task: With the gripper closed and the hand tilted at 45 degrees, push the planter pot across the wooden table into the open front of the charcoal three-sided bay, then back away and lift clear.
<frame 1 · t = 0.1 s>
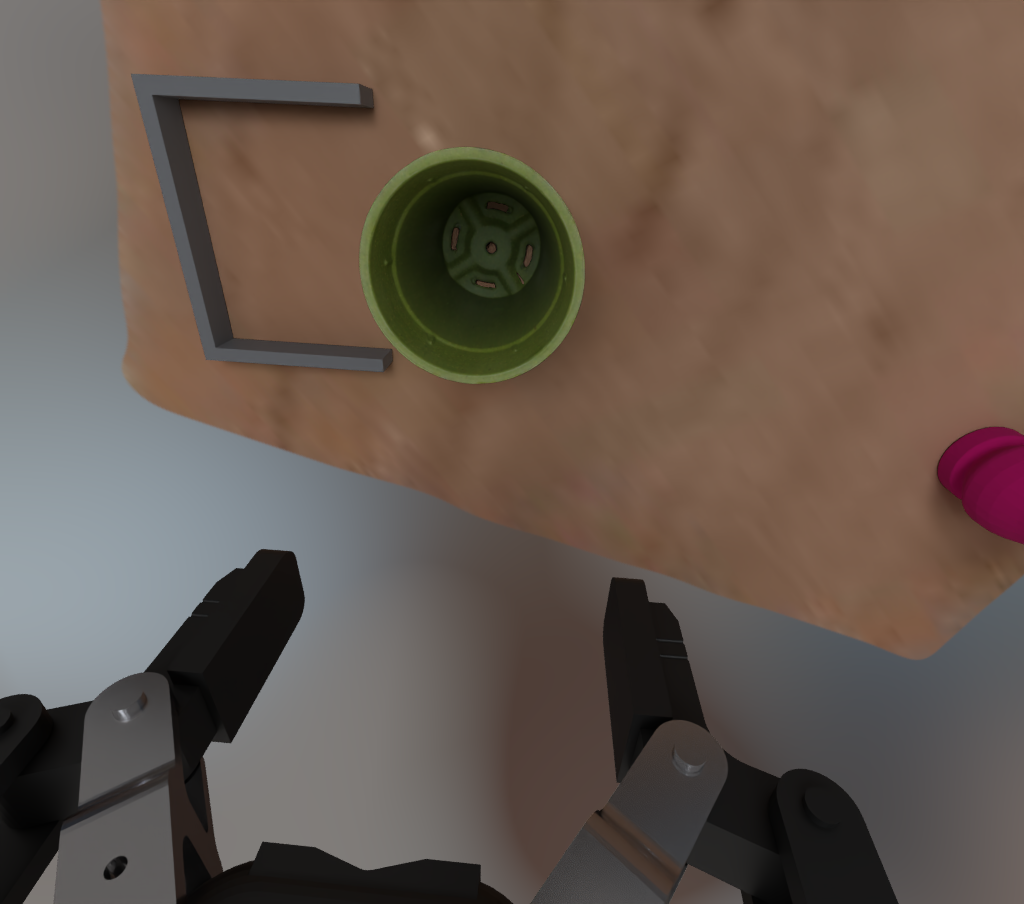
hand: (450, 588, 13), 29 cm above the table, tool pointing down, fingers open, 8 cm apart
bay: (288, 236, 37), on the table
plant pot: (494, 247, 37), on the table
pepper mill: (978, 459, 42), on the table
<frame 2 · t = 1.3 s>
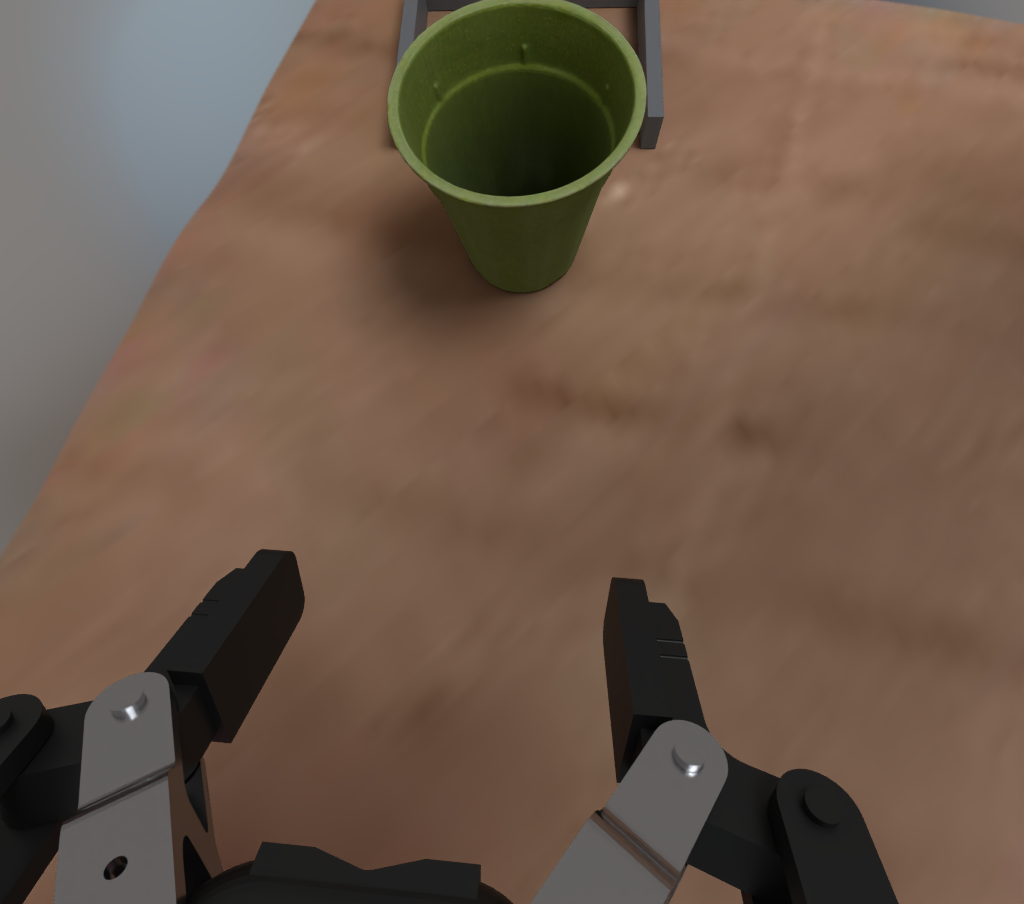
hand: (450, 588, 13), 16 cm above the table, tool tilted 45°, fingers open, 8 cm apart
bay: (528, 70, 38), on the table
plant pot: (521, 250, 34), on the table
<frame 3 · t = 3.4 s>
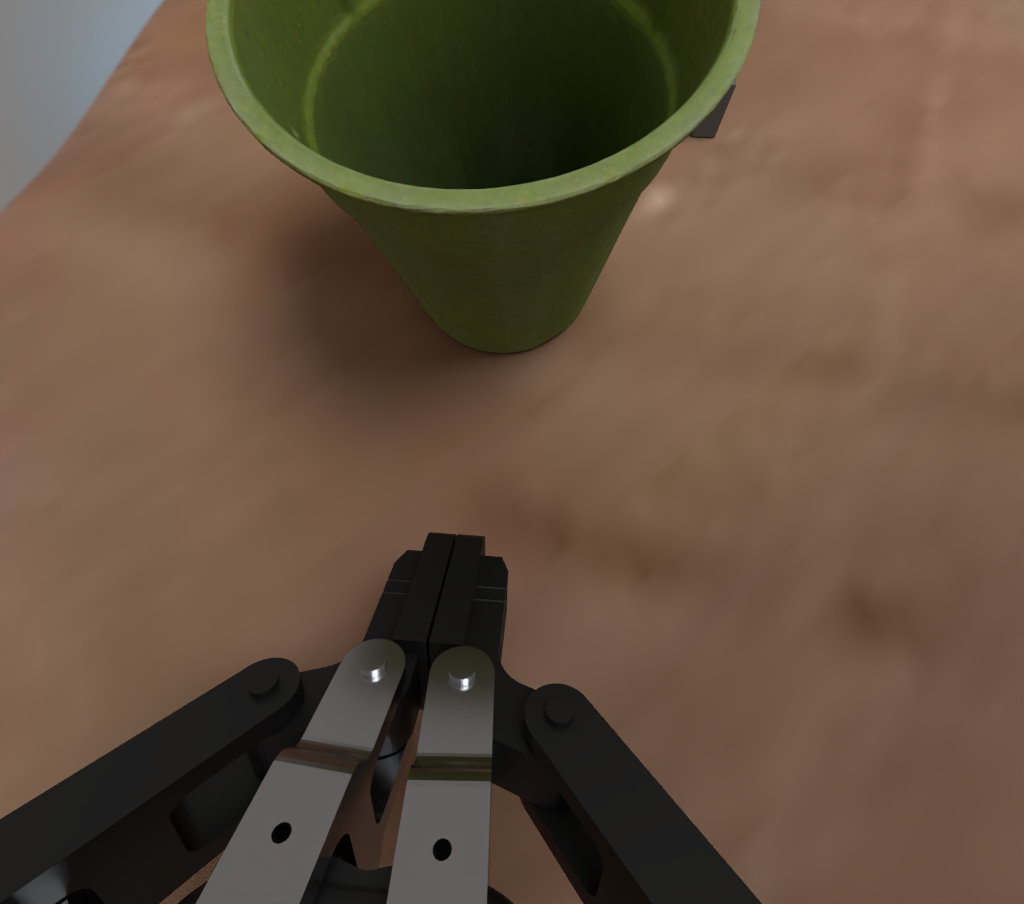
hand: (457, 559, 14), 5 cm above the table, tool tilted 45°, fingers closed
bay: (528, 18, 26), on the table
plant pot: (502, 284, 22), on the table
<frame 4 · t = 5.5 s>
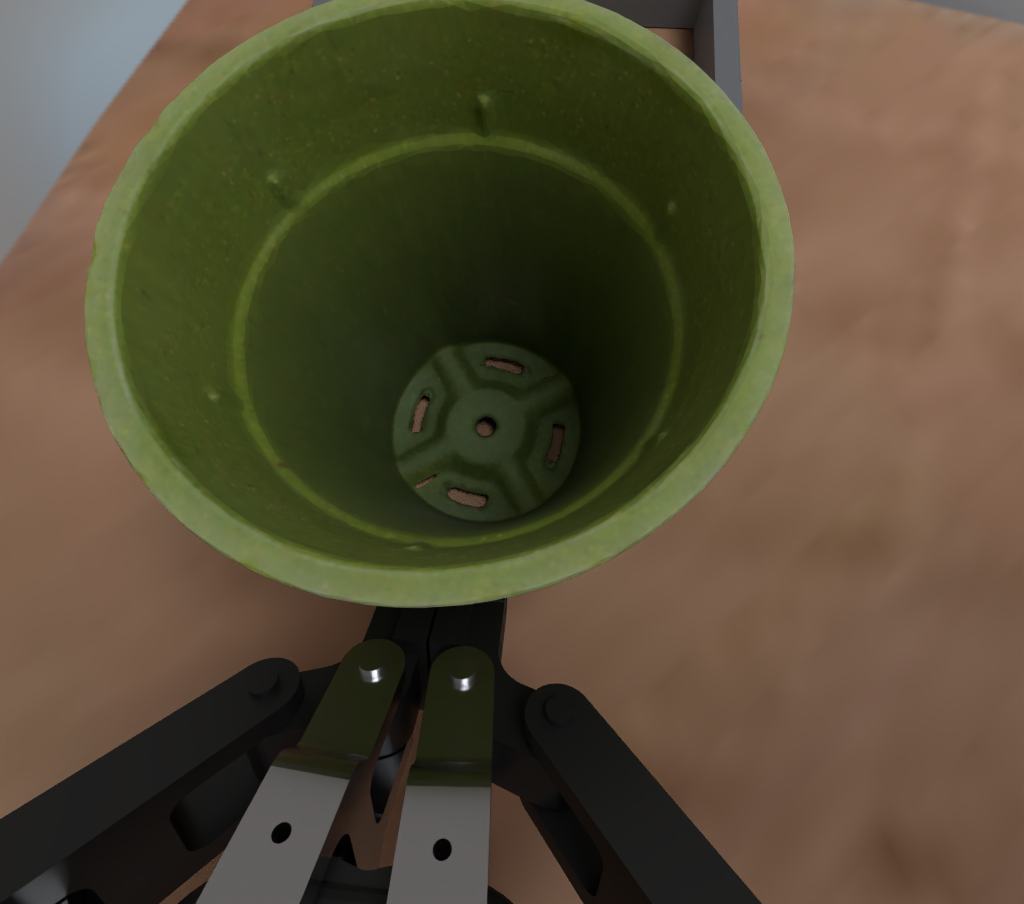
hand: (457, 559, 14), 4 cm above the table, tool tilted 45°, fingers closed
bay: (516, 121, 23), on the table
plant pot: (485, 436, 20), on the table, touching gripper
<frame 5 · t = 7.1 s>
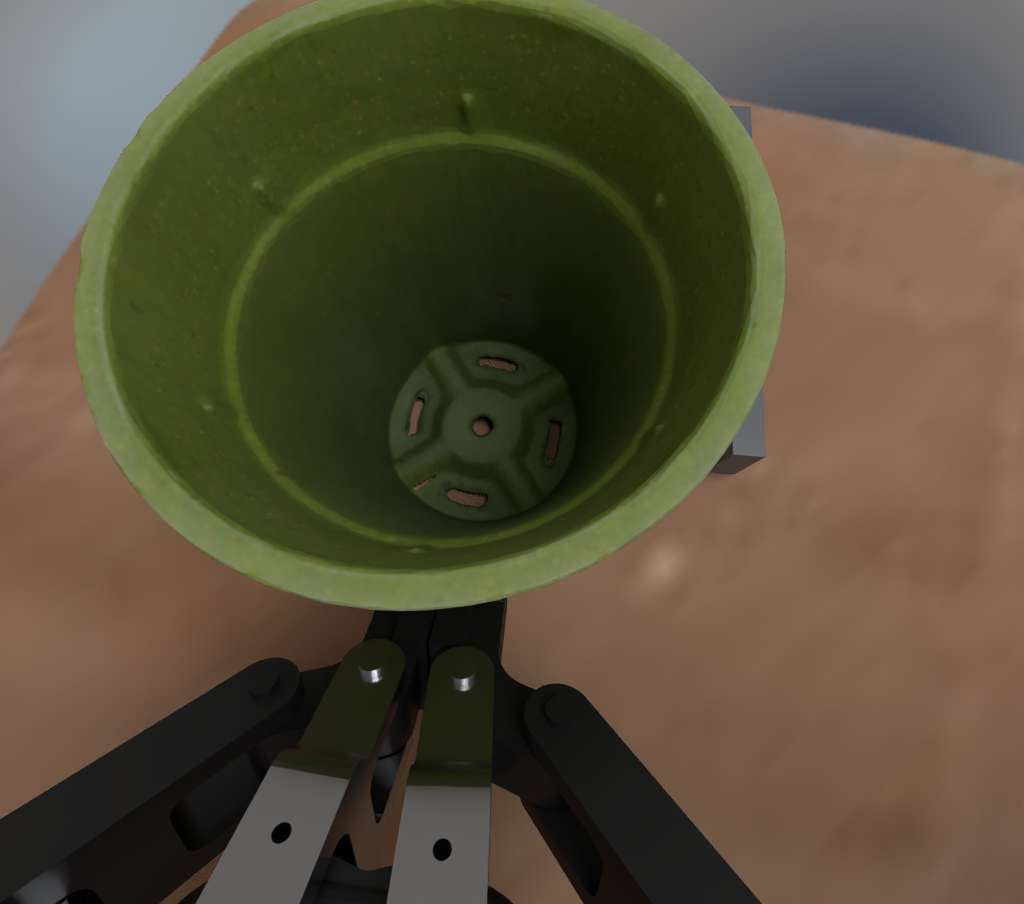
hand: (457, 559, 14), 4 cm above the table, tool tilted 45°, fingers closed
bay: (505, 289, 21), on the table
plant pot: (482, 436, 20), on the table, touching gripper
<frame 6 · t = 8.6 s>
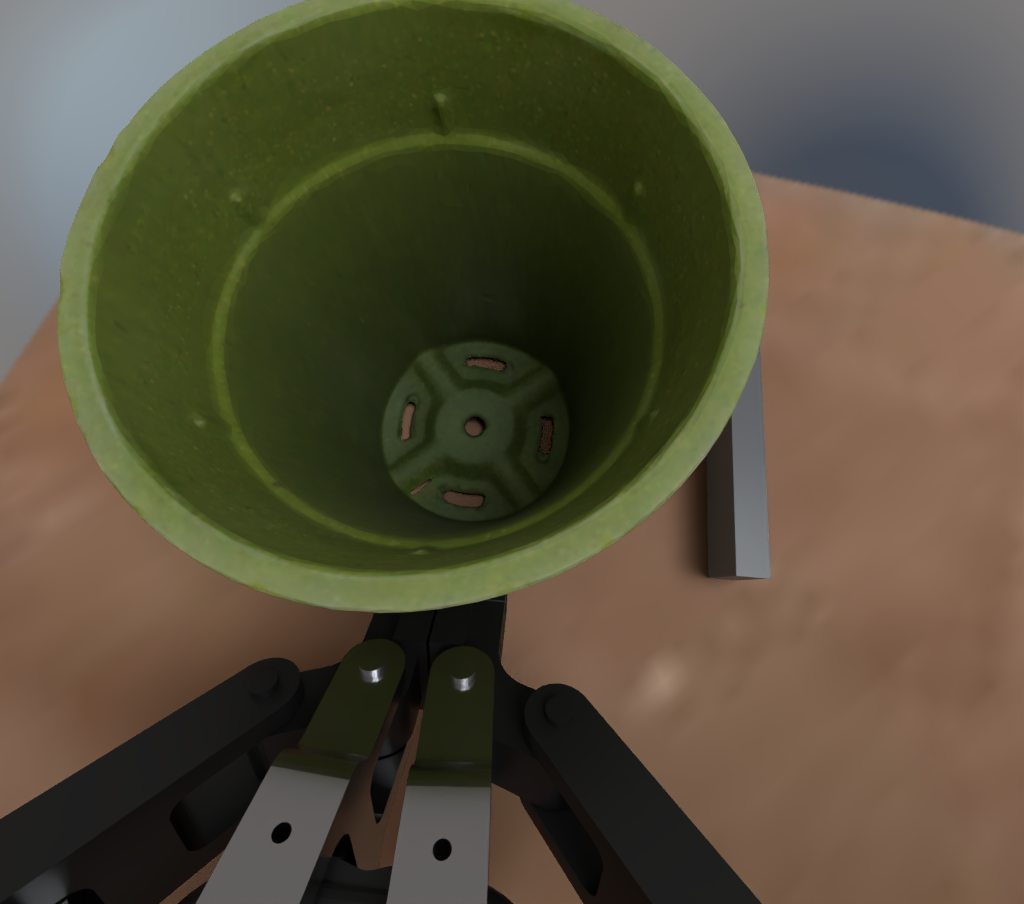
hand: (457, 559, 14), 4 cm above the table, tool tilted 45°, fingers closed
bay: (495, 375, 20), on the table
plant pot: (475, 436, 19), on the table, touching gripper
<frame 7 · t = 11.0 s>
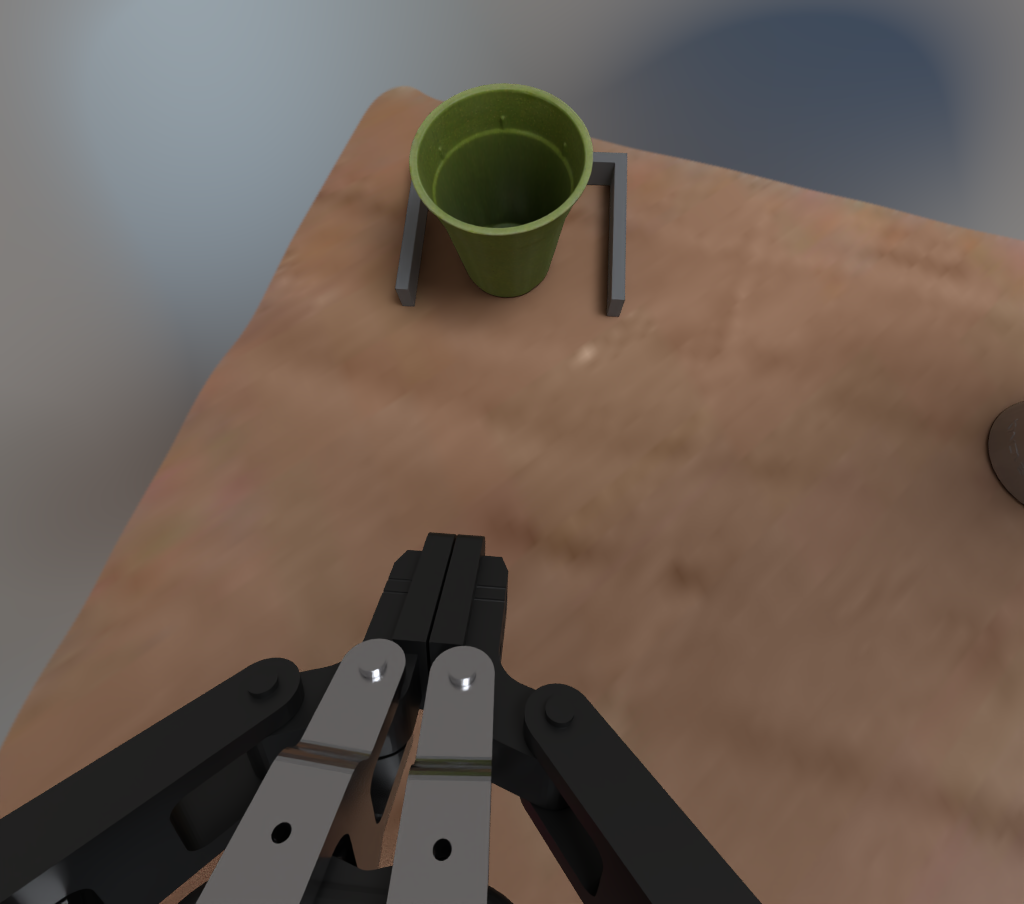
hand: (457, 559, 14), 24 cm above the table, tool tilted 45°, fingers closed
bay: (515, 239, 44), on the table
plant pot: (507, 264, 44), on the table
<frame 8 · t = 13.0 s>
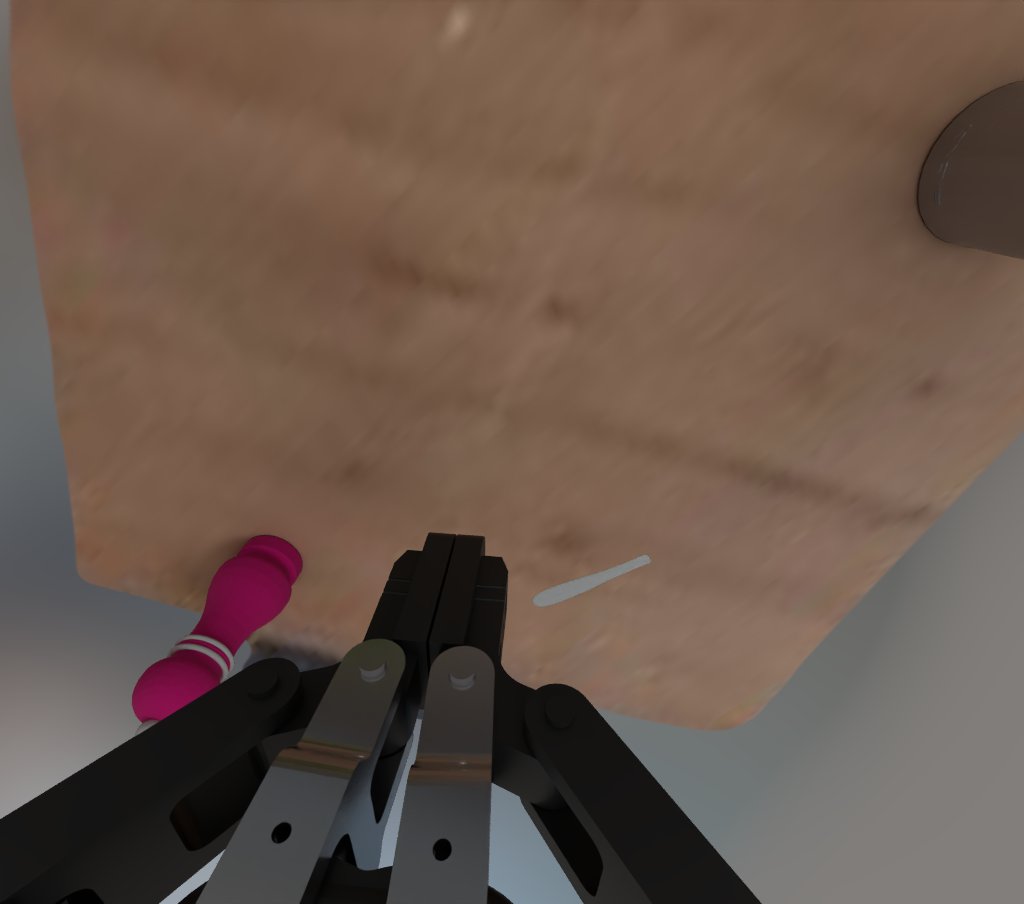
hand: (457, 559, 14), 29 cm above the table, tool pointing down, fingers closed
butter knife: (650, 551, 51), on the table
pepper mill: (274, 556, 54), on the table
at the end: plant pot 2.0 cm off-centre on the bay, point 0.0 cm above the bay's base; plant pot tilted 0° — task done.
